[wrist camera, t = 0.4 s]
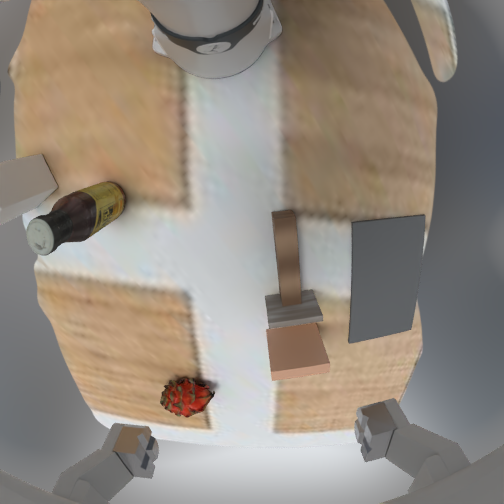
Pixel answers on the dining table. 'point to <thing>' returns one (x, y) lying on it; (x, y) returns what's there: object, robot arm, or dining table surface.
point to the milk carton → (23, 186)
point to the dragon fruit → (186, 397)
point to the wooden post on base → (289, 279)
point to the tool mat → (385, 275)
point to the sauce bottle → (76, 217)
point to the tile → (296, 352)
